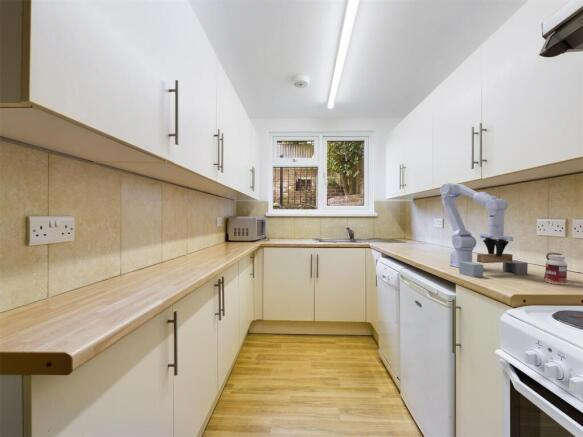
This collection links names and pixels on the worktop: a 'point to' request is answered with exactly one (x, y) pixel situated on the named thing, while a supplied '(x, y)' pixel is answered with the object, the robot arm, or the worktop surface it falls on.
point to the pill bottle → (556, 270)
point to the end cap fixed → (515, 267)
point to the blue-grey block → (471, 269)
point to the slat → (494, 258)
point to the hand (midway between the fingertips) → (495, 255)
